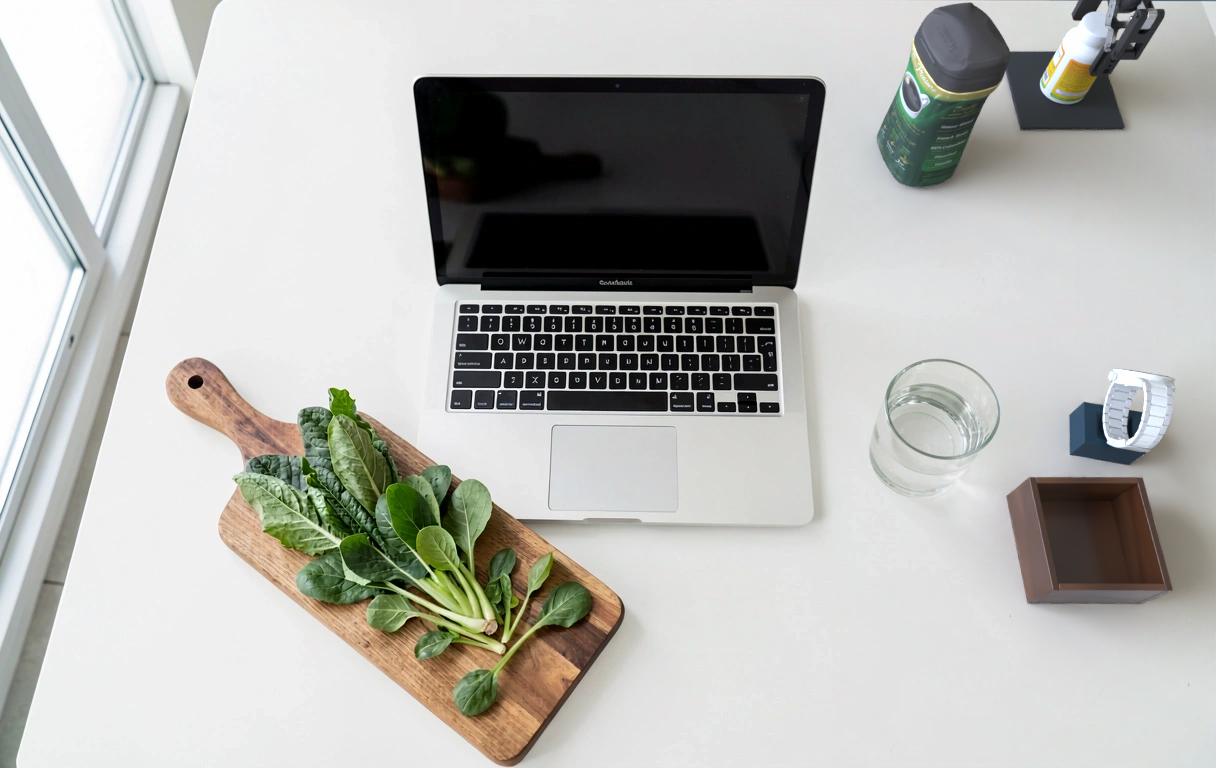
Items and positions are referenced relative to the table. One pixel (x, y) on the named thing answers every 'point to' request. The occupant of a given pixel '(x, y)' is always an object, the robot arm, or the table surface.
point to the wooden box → (1087, 541)
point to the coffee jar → (942, 94)
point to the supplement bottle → (1075, 61)
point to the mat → (1049, 115)
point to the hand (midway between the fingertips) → (1088, 45)
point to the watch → (1123, 418)
